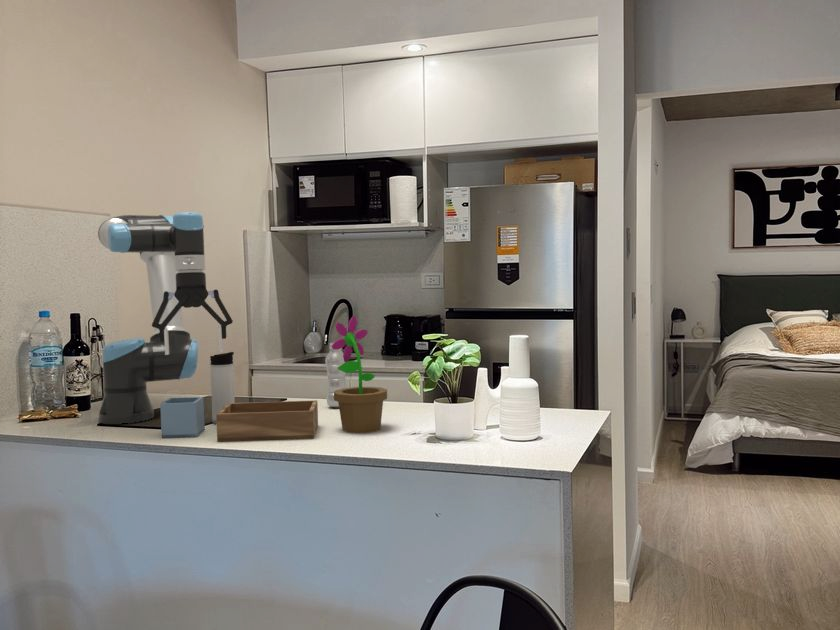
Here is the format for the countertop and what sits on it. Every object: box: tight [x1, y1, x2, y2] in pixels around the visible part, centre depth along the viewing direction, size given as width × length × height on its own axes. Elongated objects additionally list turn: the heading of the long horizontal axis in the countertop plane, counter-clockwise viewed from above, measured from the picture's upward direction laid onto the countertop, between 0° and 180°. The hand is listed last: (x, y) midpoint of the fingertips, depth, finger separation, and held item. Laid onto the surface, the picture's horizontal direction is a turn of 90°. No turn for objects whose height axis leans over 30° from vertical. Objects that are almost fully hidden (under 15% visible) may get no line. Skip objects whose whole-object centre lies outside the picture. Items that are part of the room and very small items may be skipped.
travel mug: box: [209, 351, 236, 425], centre depth 218 cm, size 6×7×20 cm
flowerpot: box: [332, 315, 388, 434], centre depth 205 cm, size 14×14×30 cm
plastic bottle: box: [324, 342, 347, 409], centre depth 237 cm, size 6×7×20 cm
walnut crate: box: [216, 399, 319, 443], centre depth 202 cm, size 16×24×7 cm, turn 93°
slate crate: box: [160, 396, 206, 439], centre depth 204 cm, size 9×9×9 cm
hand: (194, 353), depth 202 cm, fingers open, 13 cm apart
